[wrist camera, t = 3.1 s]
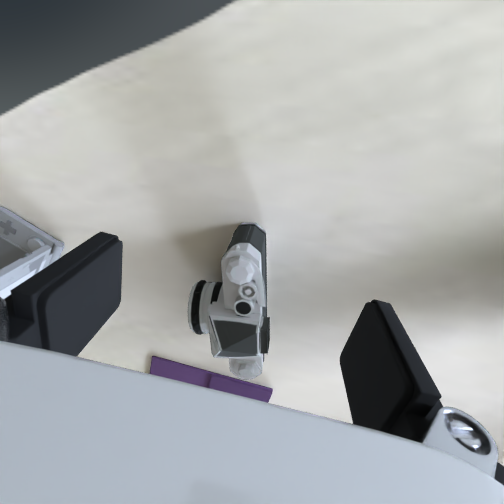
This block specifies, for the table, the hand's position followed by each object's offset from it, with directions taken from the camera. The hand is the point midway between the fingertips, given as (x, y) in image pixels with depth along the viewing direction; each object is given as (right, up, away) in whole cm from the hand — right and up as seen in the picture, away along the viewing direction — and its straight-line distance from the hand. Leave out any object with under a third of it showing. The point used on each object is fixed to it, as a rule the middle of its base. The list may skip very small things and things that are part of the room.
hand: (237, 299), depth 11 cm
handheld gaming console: (-30, +1, +27) cm, 40 cm away
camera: (-1, -2, +25) cm, 25 cm away
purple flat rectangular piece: (-6, -19, +33) cm, 38 cm away
